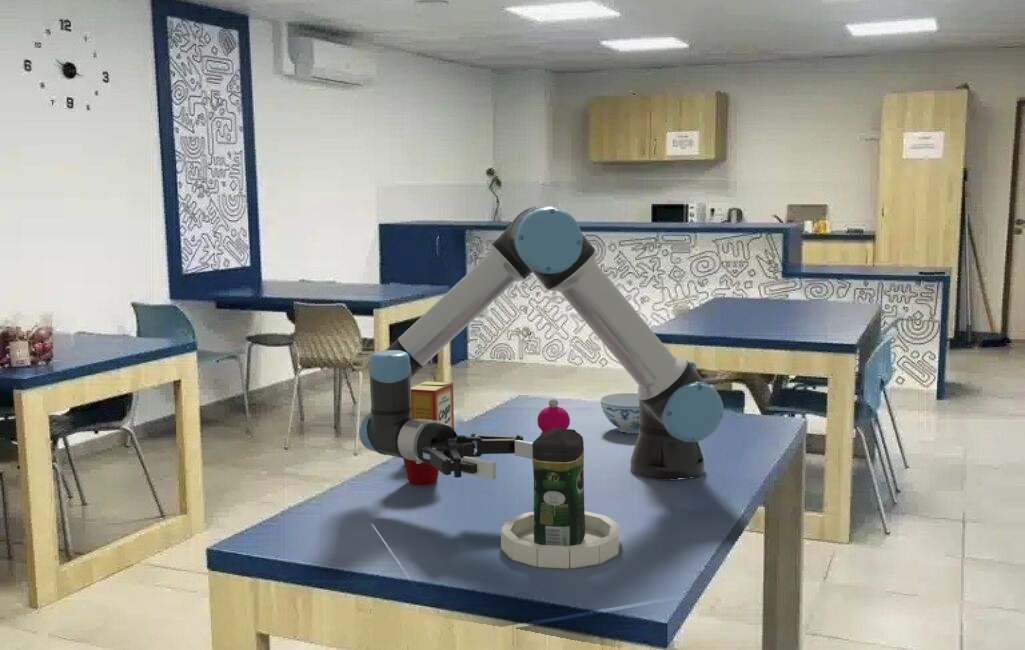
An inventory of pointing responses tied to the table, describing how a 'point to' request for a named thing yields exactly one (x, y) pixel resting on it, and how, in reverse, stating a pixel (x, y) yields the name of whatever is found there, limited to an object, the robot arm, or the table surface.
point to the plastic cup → (421, 470)
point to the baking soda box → (433, 402)
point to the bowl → (592, 550)
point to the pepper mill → (553, 417)
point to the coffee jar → (558, 488)
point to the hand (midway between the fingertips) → (520, 462)
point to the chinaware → (622, 411)
